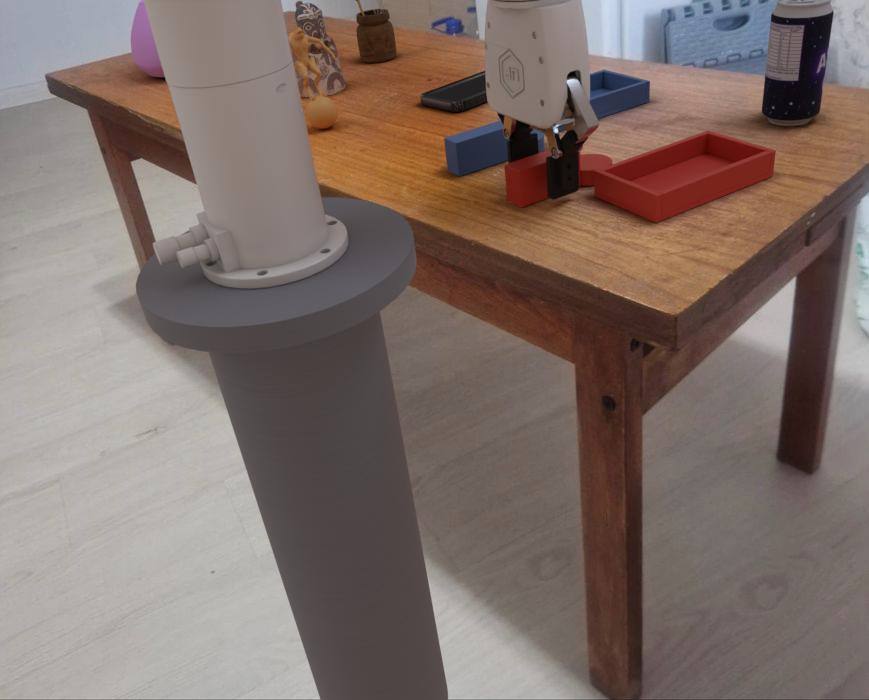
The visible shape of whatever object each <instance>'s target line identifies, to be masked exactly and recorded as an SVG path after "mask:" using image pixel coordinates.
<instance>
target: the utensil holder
mask: <svg viewBox="0 0 869 700" xmlns="http://www.w3.org/2000/svg"><path fill="white" fill-rule="evenodd" d="M355 2H357V6H358V8H359V11H360V12H358V13H356V18H355V19H356V20H355V21H356V23H357V24H358V25H357V27H356V39H357V47H358V52H359V57H360V60H361V61H362V62H363V63H366V64H368V63H369V64H375V63H376V64H378V63H383V62H387V61H390V60H393V59H395V58H396V57H397V44H396V37H395V36H396V35H395V30H394V26H393V24H392V22H391V20H390V18H391V16H390V12H389V10H388V9H387V8H386V4H387V2H384V0H382V2H381V5H383V8H382V7H379V6H378V4H379V3H376V5H377V6H375V4H374V0H371V3H370V4H371V5H370V6H372V7H371V9H367V10H363V7H362V4H361V1H360V0H355ZM383 3H384V4H383Z"/></svg>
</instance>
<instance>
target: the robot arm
mask: <svg viewBox="0 0 869 700" xmlns="http://www.w3.org/2000/svg"><path fill="white" fill-rule="evenodd" d="M144 4H145V8H146V11H147V15H148V19H149V22H150V26H151V30H152V33H153V37H154V41H155V44H156V48H157V51H158V55H159V58H160V62H161V65H162V69H163V72H164V75H165V77H164V78H165V79H164V80H165V83H166V84H167V88H168V90H169V94H170V97H171V100H172V104H173V107H174V110H175V111H174V112H175V114H176V118H177V121H178V125H179V128H180V131H181V136H182V138H183V143H184V146H185V149H186V152H187V156H188V159H189V162H190V166H191V169H192V172H193V176H194V179H195V182H196V186H197V189H198V193H199V197H200V200H201V203H202V207H203V211H202V212H198V213H196V218H197V221H198V224H197V225H193V226H190V227H189V229H188V231H189V233H186V234H183V233H182V234H183V235H182V234H179V235H176V236H175V235H174V236H169V237H166V238H164V239H163V238H162V239H160V240H157V241H154V242H152V248H153V251H154V254H155V253H156V256H157V258H158V260H159V263H160V264H161V265H164V264H167V263H170V262H173V261H176V260H179V263H180V265H181V267H182V268H185V267H188V266H191V265H194V264H197V263H198V262H200V264H201V267H202V270H203V273H204V275H205V276H206V277H207V278H208V279H209V280H210V281H212V282H214V283H216V284H218V285H222V286H225V287H230V288H238V289H258V288H269V287H274V286H280V285H285V284H288V283H292V282H296V281H299V280H302V279H305V278H307V277H310V276H312V275H314V274H317V273H319V272H321V271H323V270H324V269H326V268H328V267H329V266H331V265H332V264H334V263H335V262H336V261H337V260H338V259H340V257H341V256H342V255H343V254H344V252H345V251H346V249H347V247H348V244H349V241H348V234H347V230H346V227H345V226H344V224H343V223H342V222H341V221H339V220H337V219H336V218H334V217H331V216H328V215H325V213H324V208H323V204H322V199H321V197H322V194H321V189H320V185H319V180H318V175H317V169H316V165H315V160H314V157H313V156H314V155H313V151H312V146H311V142H310V141H311V140H310V135H309V132H308V131H309V130H308V126H307V121H306V118H305V117H306V115H305V112H304V108H303V107H304V106H303V103H302V97H300V92H299V87H298V82H297V78H296V73H295V68H294V63H293V58H292V49H291V47H290V44H289V39H288V36H289V34H288V29H287V25H286V19H285V14H284V8H283V2H282V0H144ZM485 9H486V10H485V22H484V71H485V76H486V93H487V104H488V105H489V107H490V109H491V110H493V111H494V112H495V113H497V116H498V118H499V119H500V120H499V121H501V122H502V123H503V136H504V138H505V139H506V140H509V139H510V141H507V149H508V161H507V164H508V163H511V162H514V161H517V160H520V159H523V158H526V157H529V156H532V155H535V154H538V153H539V151H538V134H537V133H531V132H532V131H533V130H534V128H537V129H540V128H541V130H543V129H545V130H544V132H545V136H546V140H547V144H548V148H549V149H548V150H550V153H551V156H549V157H546V170H547V192H548V197H549V198H548V199H551V200H554V201H555V200H557V199H560V198H563V197H566V196H568V195H572V194H574V193H577V192H578V190H579V189H580V187H579V163H578V152H579V151H580V152H581V151H582V150H583V149H584V144H585V143H586V142H587V140H588V139H589V137H590V136H591V135H593V133H594V132H595V131H596V130H597V129H598V128H599V126H600V122H599V121H600V120H599V119H597V117H596V115H595V113H594V111H593V109H592V107H591V105H590V74H591V68H590V67H591V66H590V54H589V41H588V34H587V33H588V32H587V26H586V25H587V24H586V19H585V12H584V6H583V1H582V0H487V3H486V8H485ZM563 113H564V114H565V117H563V118H561V117H562V114H563ZM564 125H566V129H565V130H566V132H565V133H564V135H562V137H560V136H561V135H560V133H559V132H560V131H559V132H558V127H561V126H564Z"/></svg>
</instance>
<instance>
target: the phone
mask: <svg viewBox="0 0 869 700" xmlns="http://www.w3.org/2000/svg"><path fill="white" fill-rule="evenodd" d="M419 97H420V104H421V106H424V107H430V108H433V109H438V110H443V111H446V112H451V113H460V112H464V111H467V110H469V109H471V108H475V107H476V106H479V105H482V104H484V103H488V101H487V93H486V76H485V70H483V71H480V72H477V73H474V74H472V75H469V76H466V77H463V78H461V79H459V80H456V81H453V82H450V83H447V84H444V85H442V86H439V87H437V88H433V89H430V90H428V91H425V92H422V93H421V94H420V95H419Z"/></svg>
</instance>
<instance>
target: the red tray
mask: <svg viewBox="0 0 869 700" xmlns="http://www.w3.org/2000/svg"><path fill="white" fill-rule="evenodd" d="M776 152H777V150H776V149H773V148H769V147H765V146H762V145H760V144H755V143H753V142H748V141H747V140H746V141H745V140H742V139H738V138H735V137H733V136H732V137H731V136H728V135H725V134H721V133H719V132H715V131H712V130H705V131H702V132H699V133H697V134H694V135H690V136H688V137H685V138H683V139H680V140H677V141H674V142H672V143H668V144H666V145H664V146H663V145H662V146H660V147H657V148H655V149H651V150H650V151H646V152H644V153H641V154H638V155H635V156H632V157H629V158H626V159H624V160H620V161H618V162H616V163H612V165H609V166H607V167H604V168H601V169H598V170H595V171H594V185H593V191H594V194H593V195H594V197H596V198H598V199H599V200H603V201H605V202H607V203H609V204H612V205H614V206H617V207H618V208H621V209H623V210H625V211H628V212H630V213H633V214H634V215H637V216H639V217H642V218H644V219H646V220H649V221H650V222H653V223H659V222H662V221H664V220H666V219H669V218H672V217H675V216H677V215H679V214H682V213H684V212H687V211H689V210H691V209H694V208H697V207H700V206H701V205H704V204H706V203H709V202H712V201H714V200H717V199H719V198H722V197H724V196H727V195H729V194H731V193H734V192H737V191H739V190H742V189H744V188H747V187H749V186H751V185H754V184H757V183H759V182H762V181H765V180H767V179H770V178H772V177H773V176H774V170H775V161H776Z"/></svg>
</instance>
